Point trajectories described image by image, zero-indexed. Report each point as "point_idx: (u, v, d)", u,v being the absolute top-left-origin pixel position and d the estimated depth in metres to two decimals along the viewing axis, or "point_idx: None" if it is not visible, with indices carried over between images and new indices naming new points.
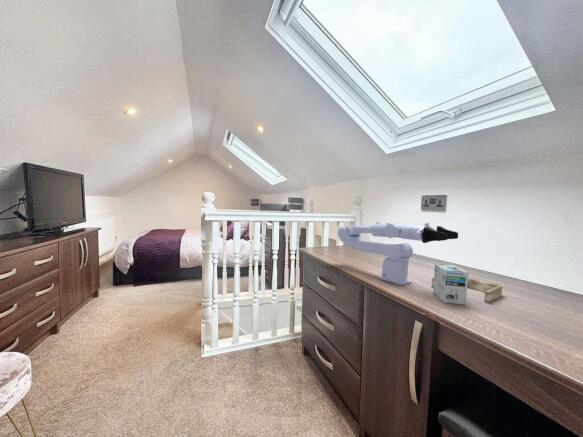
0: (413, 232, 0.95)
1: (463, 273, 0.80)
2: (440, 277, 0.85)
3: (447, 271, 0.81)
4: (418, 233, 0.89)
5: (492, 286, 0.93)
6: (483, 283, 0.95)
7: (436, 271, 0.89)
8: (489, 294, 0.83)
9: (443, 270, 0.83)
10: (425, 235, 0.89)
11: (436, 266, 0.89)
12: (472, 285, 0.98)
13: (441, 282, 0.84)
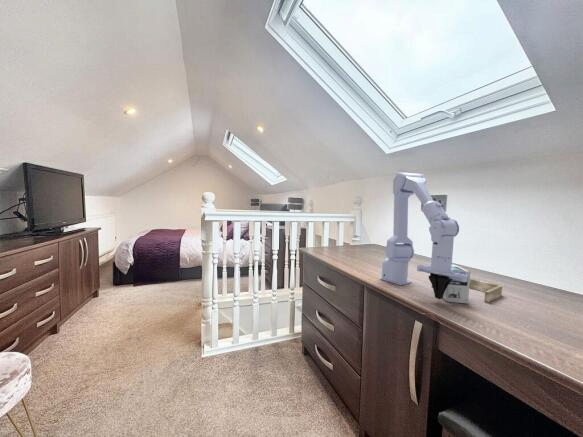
0: None
1: (465, 272, 0.81)
2: None
3: None
4: None
5: (492, 286, 0.93)
6: (483, 283, 0.95)
7: None
8: (489, 294, 0.83)
9: None
10: None
11: None
12: (472, 285, 0.98)
13: None
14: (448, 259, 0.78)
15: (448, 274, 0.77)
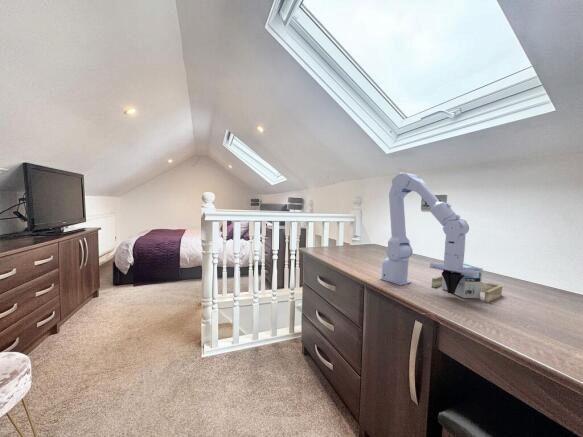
0: None
1: (479, 269, 0.86)
2: None
3: (467, 268, 0.85)
4: None
5: (492, 286, 0.93)
6: (483, 283, 0.95)
7: None
8: (489, 294, 0.83)
9: None
10: None
11: None
12: None
13: None
14: (461, 256, 0.84)
15: (460, 270, 0.83)
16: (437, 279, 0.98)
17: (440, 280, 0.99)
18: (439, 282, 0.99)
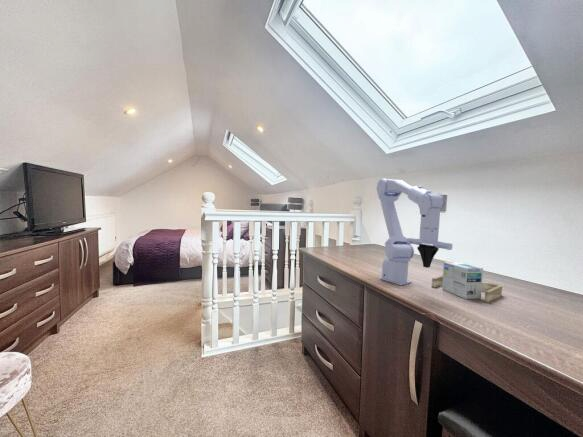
0: None
1: (479, 269, 0.86)
2: (457, 275, 0.89)
3: (468, 269, 0.85)
4: None
5: (492, 286, 0.93)
6: (483, 283, 0.95)
7: (448, 269, 0.93)
8: (489, 294, 0.83)
9: (462, 268, 0.87)
10: None
11: (447, 264, 0.93)
12: None
13: (460, 279, 0.88)
14: (435, 229, 0.84)
15: (435, 243, 0.84)
16: (437, 279, 0.98)
17: (440, 280, 0.99)
18: (439, 282, 0.99)
